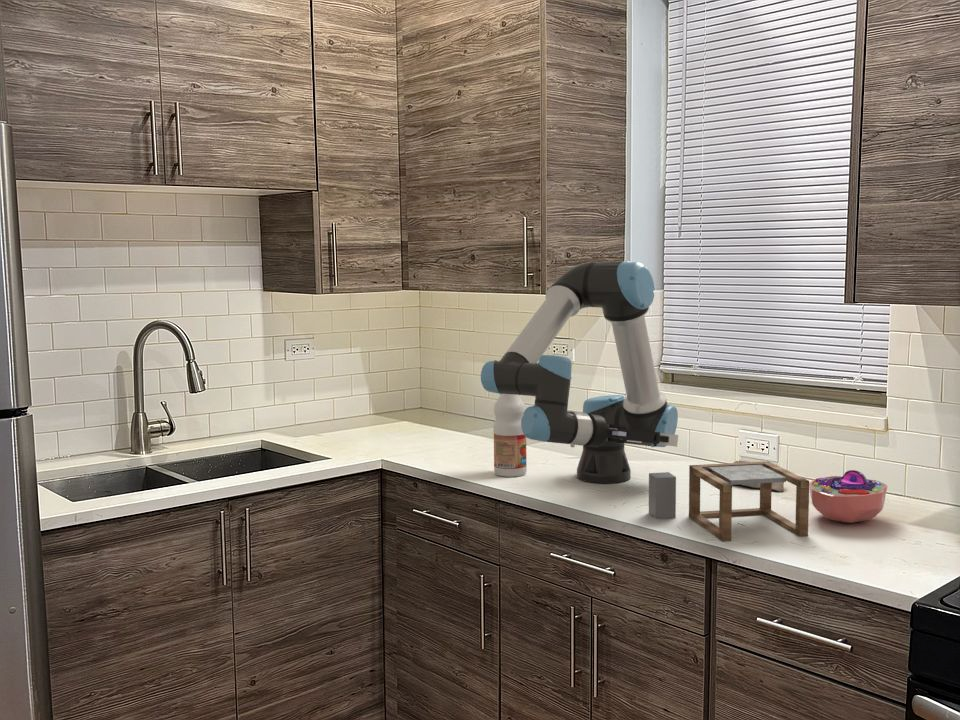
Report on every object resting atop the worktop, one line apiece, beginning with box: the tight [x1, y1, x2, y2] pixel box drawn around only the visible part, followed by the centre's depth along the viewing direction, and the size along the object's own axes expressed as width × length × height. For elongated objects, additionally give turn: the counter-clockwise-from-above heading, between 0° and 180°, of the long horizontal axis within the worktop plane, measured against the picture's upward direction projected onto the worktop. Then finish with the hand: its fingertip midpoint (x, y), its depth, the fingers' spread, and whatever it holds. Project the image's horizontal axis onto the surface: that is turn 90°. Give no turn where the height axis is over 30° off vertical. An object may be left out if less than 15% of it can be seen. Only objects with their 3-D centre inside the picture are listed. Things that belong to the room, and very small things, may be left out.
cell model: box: [809, 469, 888, 524], centre depth 219 cm, size 17×20×11 cm
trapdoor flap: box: [705, 465, 787, 486], centre depth 215 cm, size 14×14×1 cm
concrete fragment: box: [733, 460, 785, 492], centre depth 251 cm, size 8×16×7 cm, turn 50°
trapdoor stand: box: [688, 460, 810, 542], centre depth 215 cm, size 20×20×12 cm
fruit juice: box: [493, 394, 527, 478], centre depth 268 cm, size 9×9×28 cm
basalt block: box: [648, 471, 677, 520], centre depth 224 cm, size 5×5×10 cm
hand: (658, 439), depth 224 cm, fingers open, 13 cm apart
